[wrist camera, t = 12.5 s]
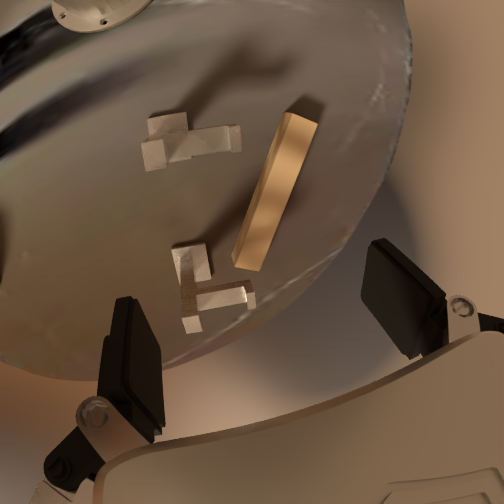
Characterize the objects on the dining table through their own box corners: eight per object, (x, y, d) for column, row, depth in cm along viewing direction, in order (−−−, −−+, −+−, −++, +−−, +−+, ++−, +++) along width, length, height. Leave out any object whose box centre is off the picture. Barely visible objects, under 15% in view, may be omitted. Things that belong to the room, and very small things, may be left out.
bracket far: (171, 247, 33) (169, 306, 24) (235, 236, 34) (258, 290, 25) (179, 282, 35) (182, 345, 26) (240, 271, 37) (261, 330, 27)
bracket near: (147, 118, 26) (127, 124, 16) (222, 106, 27) (242, 106, 17) (154, 164, 28) (139, 194, 19) (227, 152, 29) (248, 175, 20)
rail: (282, 112, 29) (292, 113, 26) (306, 121, 30) (317, 124, 27) (230, 254, 36) (235, 266, 33) (253, 258, 37) (259, 271, 34)
